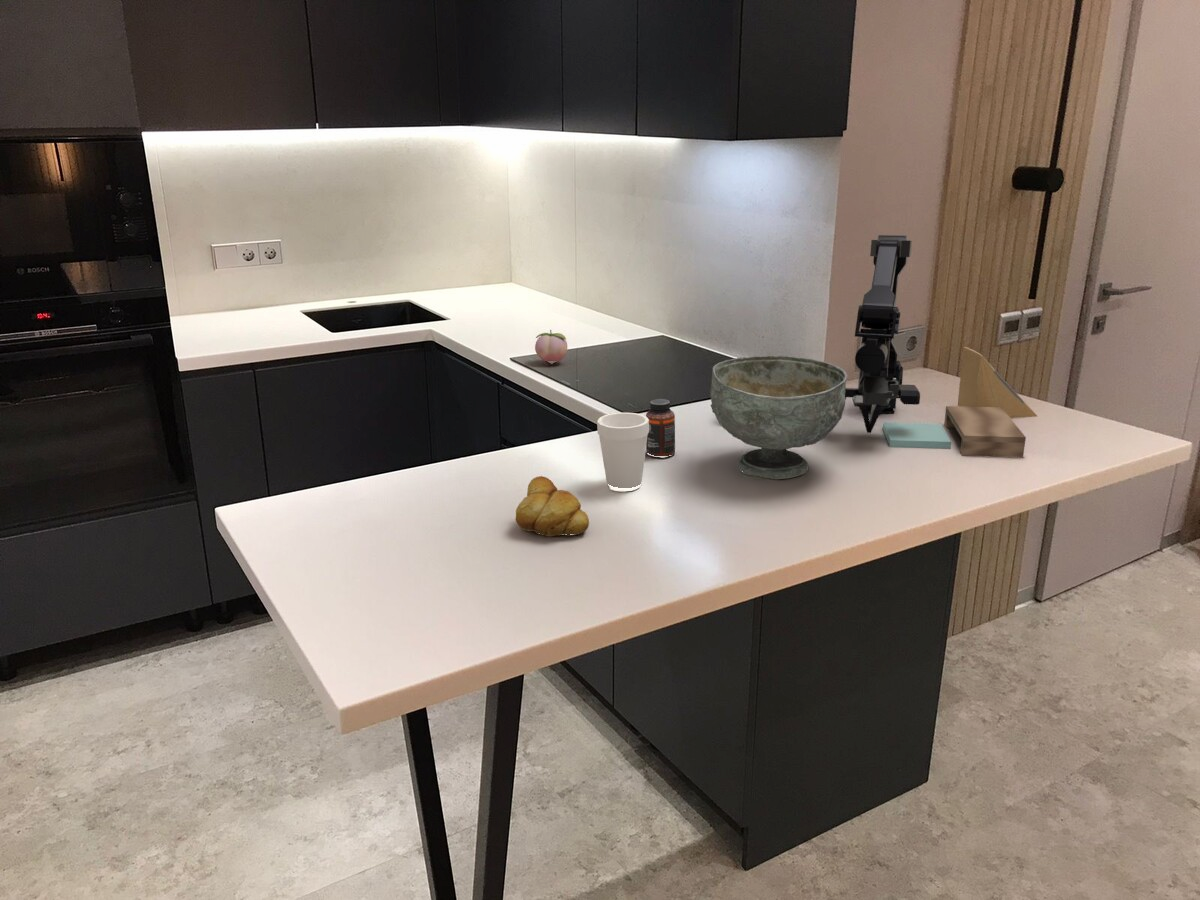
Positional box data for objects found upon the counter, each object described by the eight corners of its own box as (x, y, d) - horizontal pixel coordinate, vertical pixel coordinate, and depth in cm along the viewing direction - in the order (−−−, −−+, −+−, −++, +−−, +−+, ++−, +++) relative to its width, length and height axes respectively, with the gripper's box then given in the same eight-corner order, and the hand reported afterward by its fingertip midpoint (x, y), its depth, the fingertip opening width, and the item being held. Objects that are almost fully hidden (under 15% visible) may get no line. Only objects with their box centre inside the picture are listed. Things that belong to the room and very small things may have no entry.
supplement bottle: (679, 451, 193) (679, 398, 189) (669, 460, 188) (669, 407, 184) (652, 448, 195) (652, 396, 191) (641, 457, 190) (641, 404, 186)
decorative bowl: (762, 434, 200) (765, 344, 192) (869, 464, 183) (876, 367, 175) (681, 472, 183) (681, 374, 175) (790, 509, 166) (795, 403, 158)
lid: (889, 449, 192) (890, 440, 192) (882, 431, 203) (883, 422, 203) (950, 451, 190) (951, 441, 190) (939, 432, 202) (940, 423, 201)
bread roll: (600, 528, 158) (599, 484, 155) (565, 549, 150) (563, 504, 148) (541, 512, 165) (539, 470, 162) (505, 531, 157) (502, 487, 155)
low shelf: (962, 455, 186) (964, 435, 185) (944, 424, 205) (946, 406, 203) (1023, 457, 184) (1025, 437, 183) (999, 425, 203) (1001, 407, 202)
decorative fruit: (572, 361, 266) (571, 326, 263) (564, 368, 259) (563, 333, 255) (540, 360, 268) (539, 326, 265) (532, 367, 261) (530, 332, 257)
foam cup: (613, 499, 170) (612, 431, 165) (590, 482, 177) (588, 417, 173) (658, 488, 174) (658, 422, 169) (634, 473, 181) (633, 409, 177)
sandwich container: (1039, 417, 208) (1049, 351, 203) (973, 420, 207) (981, 354, 202) (1020, 406, 217) (1028, 343, 211) (956, 409, 215) (963, 345, 210)
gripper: (830, 370, 187) (825, 443, 192) (927, 371, 184) (920, 446, 189) (827, 356, 197) (822, 426, 202) (919, 358, 194) (912, 429, 199)
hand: (868, 432), depth 198 cm, fingers closed
